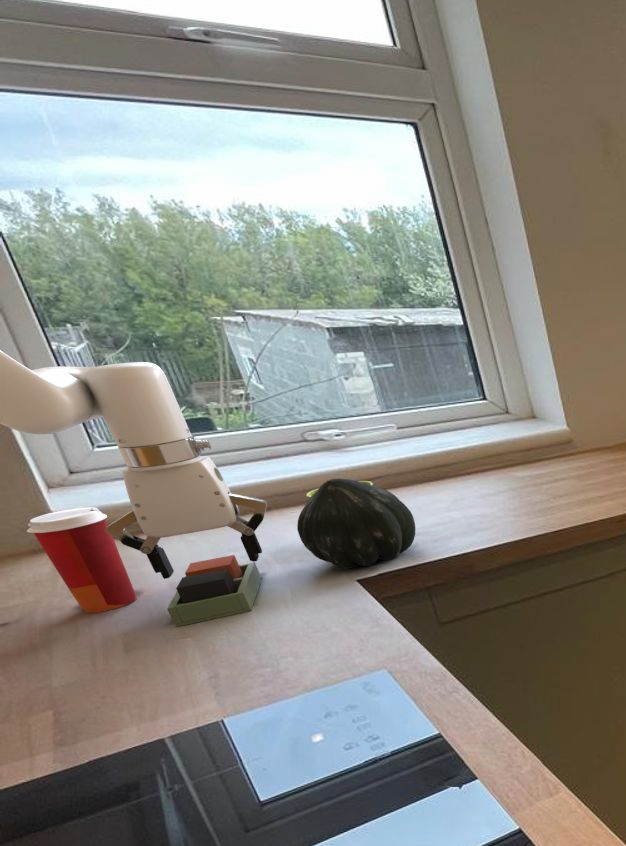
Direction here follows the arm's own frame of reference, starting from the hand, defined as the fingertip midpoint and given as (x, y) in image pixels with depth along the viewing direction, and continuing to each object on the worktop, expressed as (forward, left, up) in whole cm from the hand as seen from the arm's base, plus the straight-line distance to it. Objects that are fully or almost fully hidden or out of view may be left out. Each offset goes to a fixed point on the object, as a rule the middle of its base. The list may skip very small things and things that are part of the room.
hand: (213, 567), depth 120 cm
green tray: (0, -4, -4) cm, 6 cm away
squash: (+18, +2, -4) cm, 19 cm away
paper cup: (-14, +7, -4) cm, 16 cm away
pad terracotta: (0, 0, -4) cm, 4 cm away
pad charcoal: (0, -7, -4) cm, 8 cm away
